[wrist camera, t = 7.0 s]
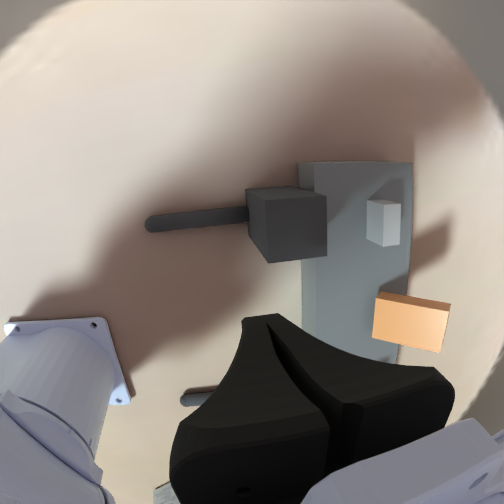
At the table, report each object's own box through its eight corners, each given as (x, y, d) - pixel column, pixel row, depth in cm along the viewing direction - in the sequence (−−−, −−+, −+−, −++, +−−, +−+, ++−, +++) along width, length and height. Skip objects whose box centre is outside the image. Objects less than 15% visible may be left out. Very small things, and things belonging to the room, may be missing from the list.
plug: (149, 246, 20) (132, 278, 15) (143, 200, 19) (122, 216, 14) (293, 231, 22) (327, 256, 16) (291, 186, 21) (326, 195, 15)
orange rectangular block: (371, 337, 21) (439, 352, 18) (375, 297, 20) (448, 311, 17) (377, 329, 22) (442, 343, 18) (381, 291, 21) (450, 303, 18)
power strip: (301, 405, 26) (318, 444, 21) (297, 162, 20) (326, 163, 16) (371, 387, 27) (396, 420, 22) (388, 161, 21) (431, 164, 17)
